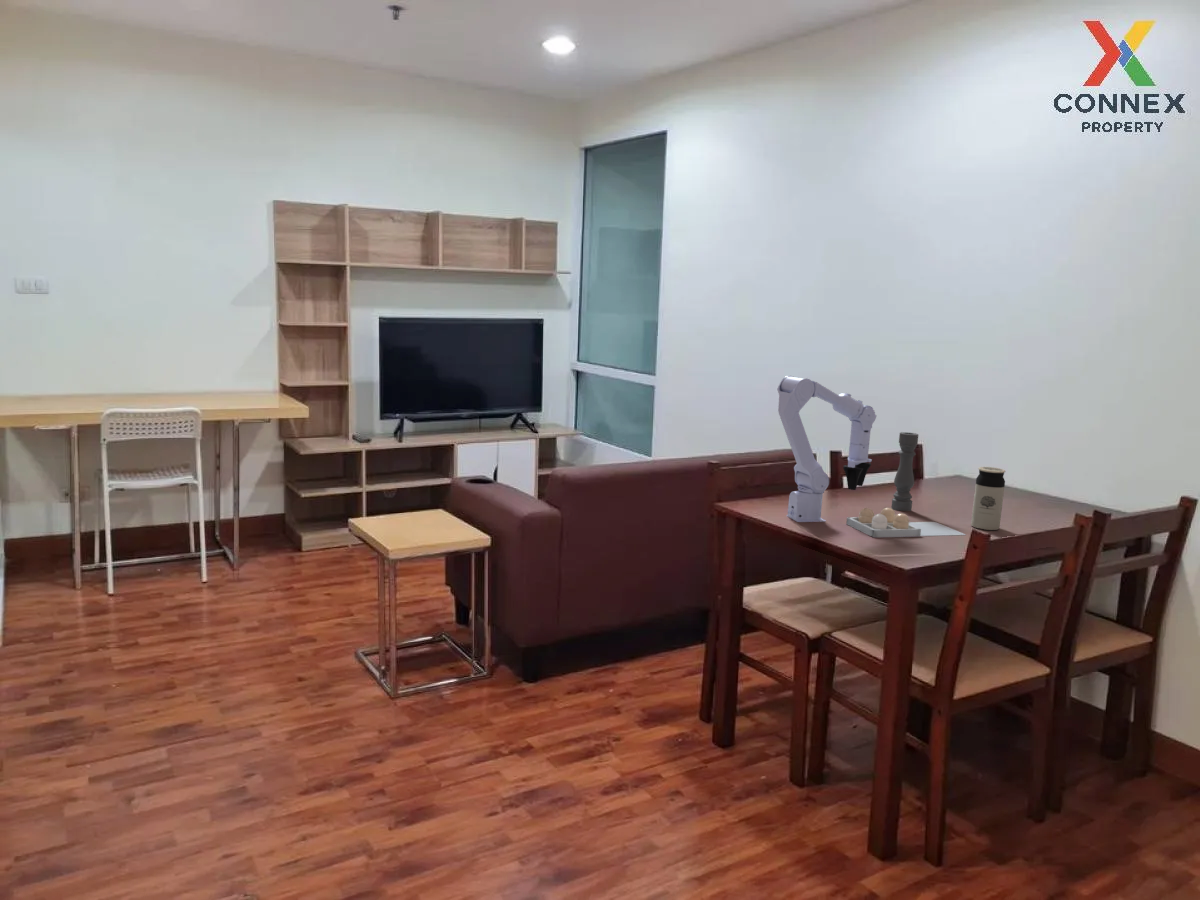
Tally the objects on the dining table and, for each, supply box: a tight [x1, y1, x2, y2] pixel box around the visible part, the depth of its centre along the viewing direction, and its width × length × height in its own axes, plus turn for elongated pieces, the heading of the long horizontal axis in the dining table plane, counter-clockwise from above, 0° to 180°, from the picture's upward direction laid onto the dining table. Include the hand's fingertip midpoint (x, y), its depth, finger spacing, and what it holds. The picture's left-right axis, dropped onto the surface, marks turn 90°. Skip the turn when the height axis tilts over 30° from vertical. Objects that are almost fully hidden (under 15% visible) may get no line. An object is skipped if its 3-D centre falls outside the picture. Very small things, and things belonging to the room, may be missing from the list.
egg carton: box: [845, 516, 967, 538], centre depth 264 cm, size 30×15×2 cm, turn 104°
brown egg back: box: [893, 512, 910, 529], centre depth 259 cm, size 4×4×6 cm
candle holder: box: [890, 431, 919, 512], centre depth 289 cm, size 6×6×25 cm
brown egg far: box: [880, 507, 896, 523], centre depth 266 cm, size 4×4×6 cm
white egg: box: [871, 513, 887, 529], centre depth 257 cm, size 4×4×6 cm
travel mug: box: [970, 466, 1006, 531], centre depth 271 cm, size 8×8×18 cm
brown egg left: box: [858, 507, 875, 523], centre depth 264 cm, size 4×4×6 cm
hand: (855, 487), depth 277 cm, fingers open, 7 cm apart
